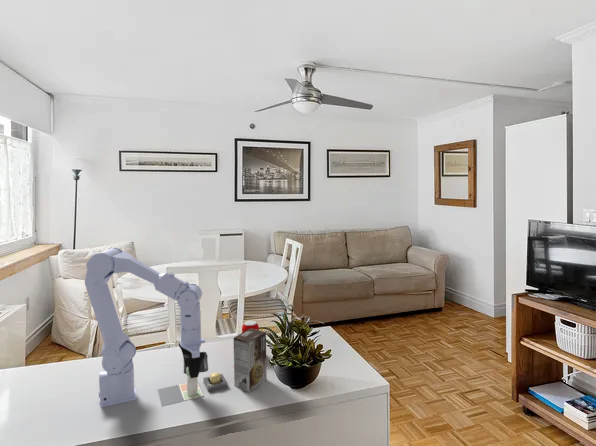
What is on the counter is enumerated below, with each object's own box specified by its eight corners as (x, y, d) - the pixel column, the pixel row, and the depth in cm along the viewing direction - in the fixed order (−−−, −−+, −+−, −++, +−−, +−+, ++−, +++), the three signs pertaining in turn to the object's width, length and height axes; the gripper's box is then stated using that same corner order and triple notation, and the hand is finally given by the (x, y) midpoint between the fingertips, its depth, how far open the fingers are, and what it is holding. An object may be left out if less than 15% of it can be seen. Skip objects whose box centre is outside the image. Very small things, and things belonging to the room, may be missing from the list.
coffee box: (251, 374, 128) (250, 327, 126) (267, 379, 125) (267, 331, 123) (233, 387, 120) (232, 337, 119) (249, 392, 117) (249, 341, 115)
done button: (211, 386, 118) (211, 378, 118) (208, 381, 121) (208, 373, 121) (221, 383, 120) (221, 376, 119) (219, 379, 123) (218, 371, 122)
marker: (188, 397, 113) (187, 371, 112) (185, 392, 116) (185, 366, 115) (199, 395, 114) (198, 369, 113) (196, 389, 117) (196, 364, 116)
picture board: (161, 408, 109) (161, 406, 109) (157, 390, 118) (157, 389, 118) (204, 397, 114) (204, 395, 114) (197, 382, 123) (197, 380, 123)
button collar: (208, 393, 117) (207, 387, 116) (203, 383, 122) (203, 377, 122) (227, 388, 119) (227, 382, 119) (222, 379, 125) (222, 373, 124)
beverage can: (238, 354, 143) (238, 323, 142) (251, 348, 148) (250, 318, 146) (250, 359, 139) (249, 327, 138) (262, 353, 144) (262, 322, 143)
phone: (206, 351, 144) (207, 370, 129) (206, 354, 144) (207, 373, 129) (184, 353, 142) (183, 373, 127) (184, 356, 142) (183, 376, 127)
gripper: (210, 333, 108) (210, 379, 110) (199, 317, 121) (199, 358, 123) (184, 337, 105) (185, 385, 106) (175, 320, 118) (176, 362, 119)
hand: (191, 371), depth 114 cm, fingers open, 7 cm apart
